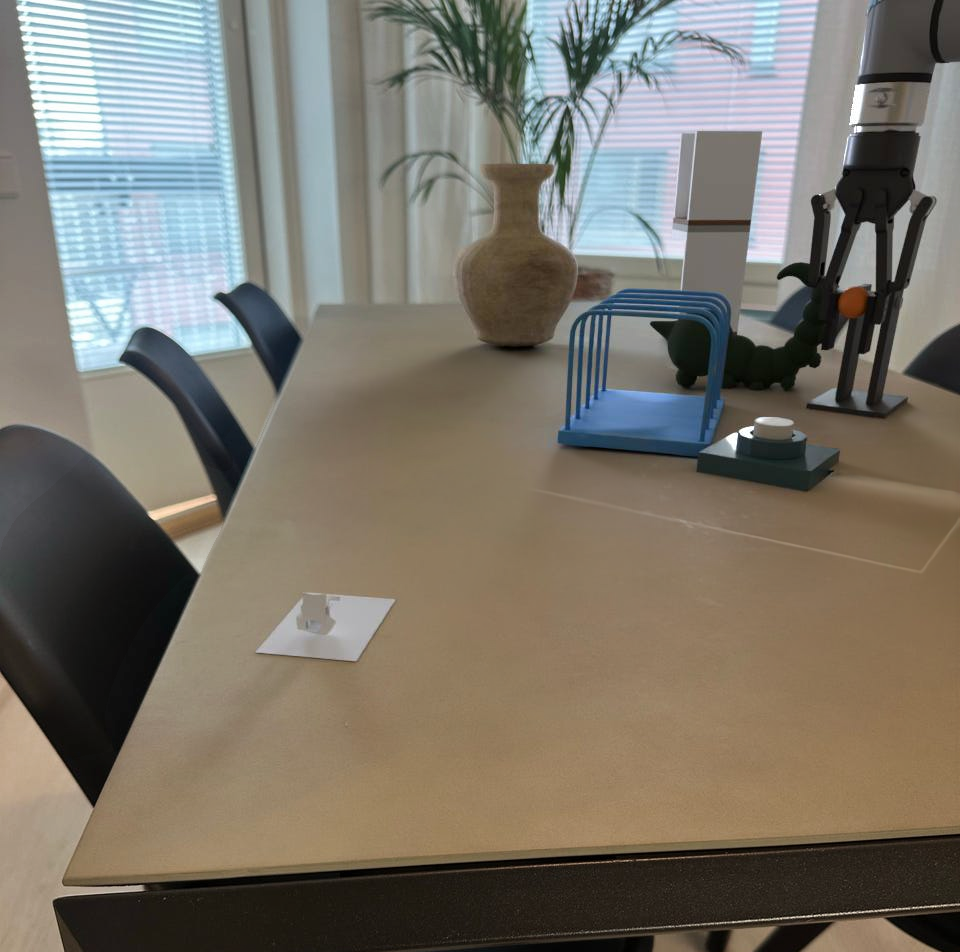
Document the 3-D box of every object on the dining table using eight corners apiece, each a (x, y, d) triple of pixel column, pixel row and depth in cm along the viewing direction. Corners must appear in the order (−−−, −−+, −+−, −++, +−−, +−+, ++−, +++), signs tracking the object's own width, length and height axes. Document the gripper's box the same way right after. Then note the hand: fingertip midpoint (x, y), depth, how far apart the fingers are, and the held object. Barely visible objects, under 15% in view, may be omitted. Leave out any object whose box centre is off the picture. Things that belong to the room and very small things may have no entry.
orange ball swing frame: (883, 425, 116) (909, 293, 109) (804, 414, 121) (825, 288, 114) (906, 407, 125) (932, 284, 117) (832, 398, 130) (853, 280, 123)
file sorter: (707, 460, 102) (724, 316, 95) (556, 448, 106) (561, 309, 99) (724, 410, 123) (738, 290, 116) (597, 402, 128) (604, 285, 121)
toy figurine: (810, 399, 136) (645, 373, 143) (845, 264, 127) (668, 243, 134) (808, 413, 128) (634, 385, 135) (845, 270, 119) (657, 247, 126)
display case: (719, 334, 182) (742, 133, 166) (736, 342, 172) (762, 131, 156) (663, 334, 181) (680, 133, 165) (676, 343, 171) (696, 131, 156)
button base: (837, 469, 99) (843, 432, 97) (807, 492, 92) (814, 453, 90) (731, 451, 105) (736, 416, 103) (696, 472, 98) (700, 435, 96)
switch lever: (862, 319, 107) (868, 287, 105) (831, 317, 108) (837, 285, 107) (891, 317, 117) (897, 287, 116) (862, 314, 119) (868, 285, 118)
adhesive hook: (295, 637, 63) (290, 595, 62) (308, 621, 65) (304, 581, 64) (337, 640, 63) (333, 599, 61) (348, 624, 65) (345, 584, 63)
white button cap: (796, 436, 97) (799, 420, 96) (784, 444, 94) (786, 427, 93) (760, 431, 99) (762, 415, 98) (746, 438, 96) (749, 422, 96)
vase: (513, 360, 156) (516, 163, 142) (429, 344, 171) (425, 164, 157) (599, 345, 169) (609, 163, 156) (515, 331, 184) (517, 164, 170)
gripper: (798, 130, 102) (767, 347, 112) (960, 127, 93) (910, 362, 104) (819, 132, 107) (788, 339, 118) (974, 129, 98) (925, 353, 109)
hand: (845, 350), depth 111 cm, fingers closed on switch lever, 4 cm apart
